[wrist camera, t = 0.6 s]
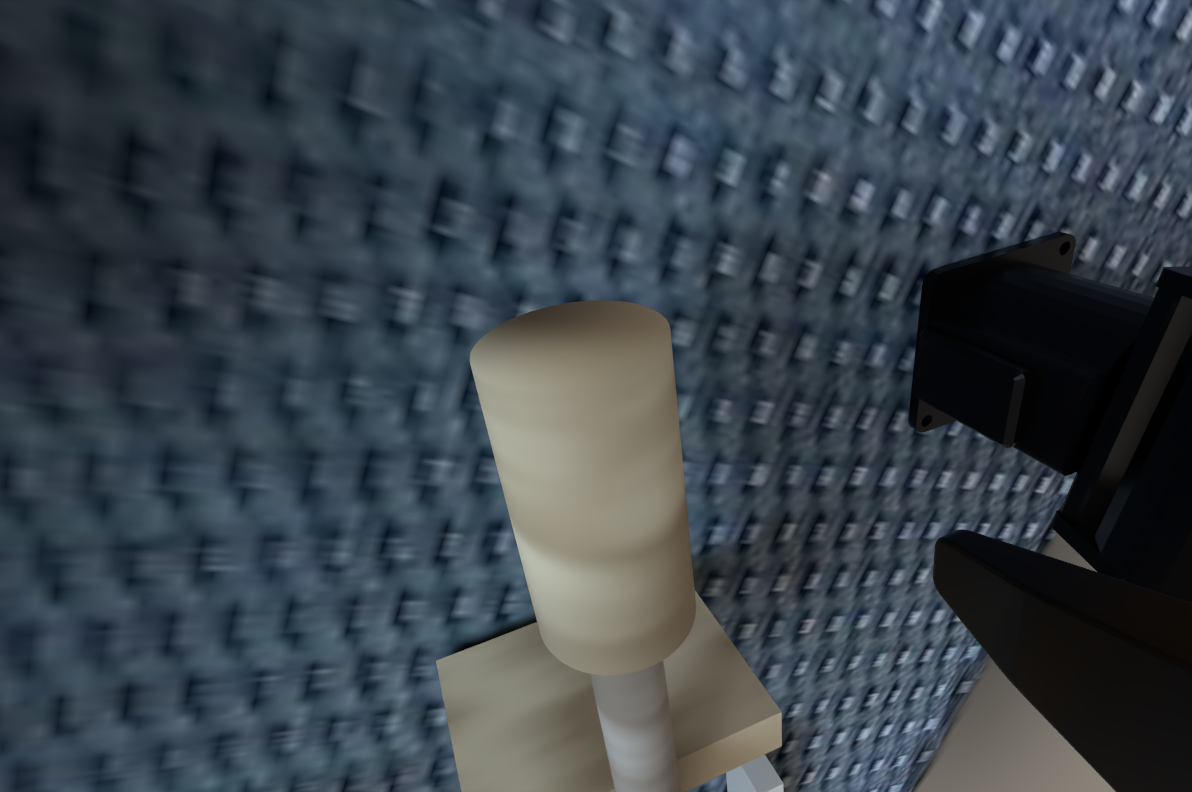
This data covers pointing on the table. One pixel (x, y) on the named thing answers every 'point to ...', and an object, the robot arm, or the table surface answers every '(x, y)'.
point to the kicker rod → (597, 576)
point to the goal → (754, 777)
